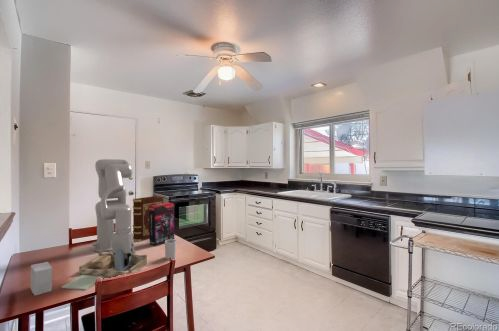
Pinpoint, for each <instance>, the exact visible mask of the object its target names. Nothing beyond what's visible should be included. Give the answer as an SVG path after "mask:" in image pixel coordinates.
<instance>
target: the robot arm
mask: <svg viewBox="0 0 499 331" xmlns="http://www.w3.org/2000/svg"><path fill="white" fill-rule="evenodd" d="M94 167H95V171H96V174H97V176H98V198H100V201H98V202H97V203H96V204H95V207H94V208H95V209H94V210H95V214H96V241H93V242H92V244H91V246H93V247H94V246H95V247H94V248H93V250H94V252H96V253H99V252H107V253H108V252H110V253H113V254H114V255H115V251H117V250H123V254H125V259H124V266H127V265H128V264H129V257H130V256H131V255H133V254H136V250H135V249H134V248H135V241H134V240H133V232H132V208H131V207H130V205H129V204H127V203H126V202H127V198H126V197H127V188H126V186H125V185H124V180H123V179H128V178H129V179H130V178H131V177H132V176H133V168H132V166H131V164H130V163H129V162H128V161H127V160H126V159H109V158H107V159H106V158H105V159H104V158H103V159H98V160H97V161H95V166H94ZM114 220H115V222H114ZM130 251H131V253H130Z"/></svg>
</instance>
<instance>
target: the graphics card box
mask: <svg viewBox="0 0 499 331" xmlns="http://www.w3.org/2000/svg"><path fill="white" fill-rule="evenodd" d="M174 208H175V205H174V203H173V202H163V204H157V205H150V206H149V235H150V238H149V245H151V246H155V247H156V246H158V245H163V244H165V241H166V240H169V239H175V212H174V211H175V209H174Z"/></svg>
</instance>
